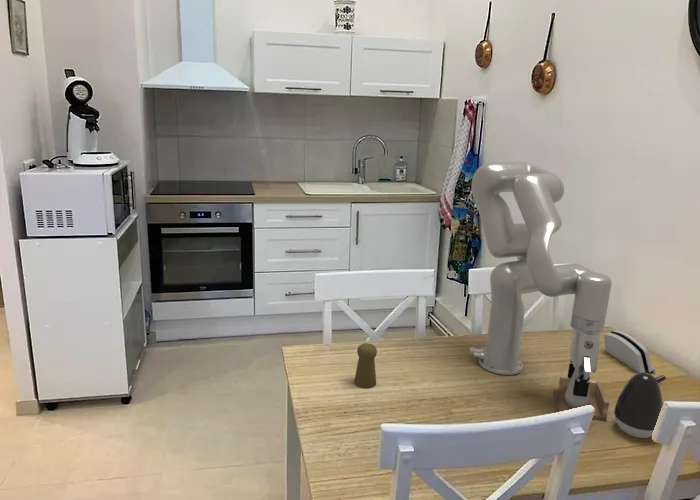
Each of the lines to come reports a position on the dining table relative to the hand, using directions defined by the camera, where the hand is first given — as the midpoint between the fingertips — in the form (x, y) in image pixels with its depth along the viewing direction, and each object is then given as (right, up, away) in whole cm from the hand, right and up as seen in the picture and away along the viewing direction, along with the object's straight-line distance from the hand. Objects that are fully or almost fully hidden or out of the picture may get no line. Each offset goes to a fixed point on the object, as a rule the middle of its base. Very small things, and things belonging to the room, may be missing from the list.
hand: (576, 386), depth 137 cm
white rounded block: (+27, 0, +30) cm, 41 cm away
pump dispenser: (+11, -9, -8) cm, 16 cm away
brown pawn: (-53, -2, +9) cm, 54 cm away
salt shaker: (0, -5, +1) cm, 5 cm away
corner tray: (+1, -6, +3) cm, 6 cm away
